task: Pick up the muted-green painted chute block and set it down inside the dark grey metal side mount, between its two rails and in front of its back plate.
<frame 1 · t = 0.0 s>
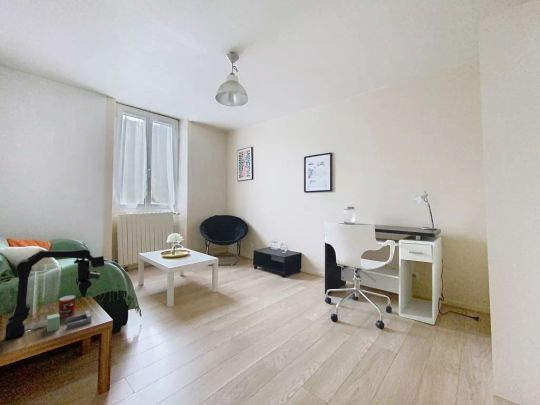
hand: (82, 294, 145), 15 cm above the table, fingers open, 9 cm apart
chute block: (53, 328, 133), on the table
canned food: (67, 315, 149), on the table
side mount: (76, 323, 140), on the table
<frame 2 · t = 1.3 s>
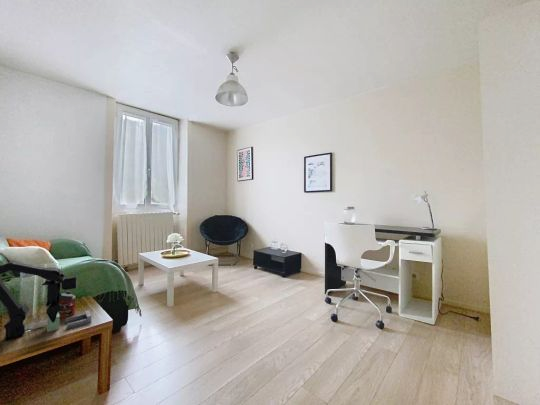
hand: (53, 319, 133), 5 cm above the table, fingers open, 9 cm apart
nothing on the table moved.
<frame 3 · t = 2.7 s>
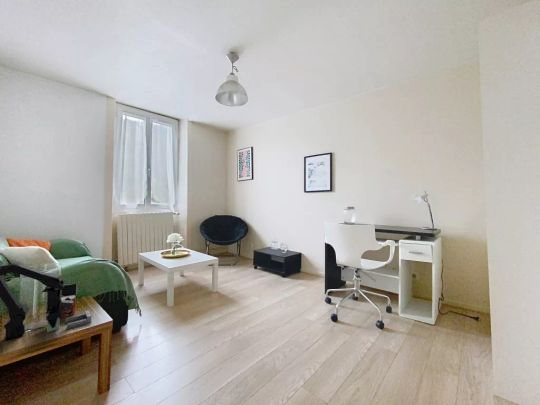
hand: (53, 325, 133), 2 cm above the table, fingers closed on chute block, 5 cm apart
chute block: (53, 328, 133), on the table, touching gripper
everything else where it was.
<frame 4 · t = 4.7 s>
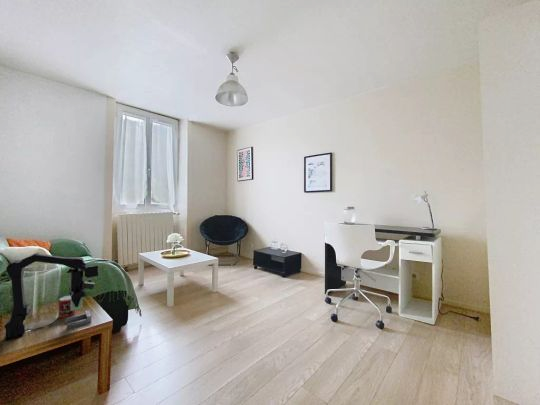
hand: (76, 305, 140), 10 cm above the table, fingers closed on chute block, 5 cm apart
chute block: (76, 308, 140), point 9 cm above the table, touching gripper
everything else where it was.
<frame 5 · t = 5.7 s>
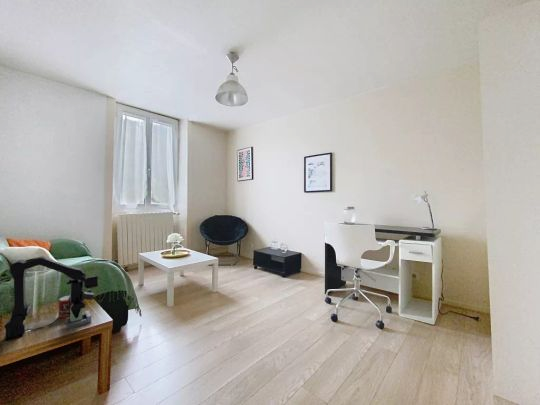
hand: (76, 316, 140), 4 cm above the table, fingers closed on chute block, 5 cm apart
chute block: (76, 318, 140), point 2 cm above the table, touching gripper
everything else where it was.
when the fingers open (3 cm above the table, at t = 6.6 s): chute block drops 2 cm, on the table.
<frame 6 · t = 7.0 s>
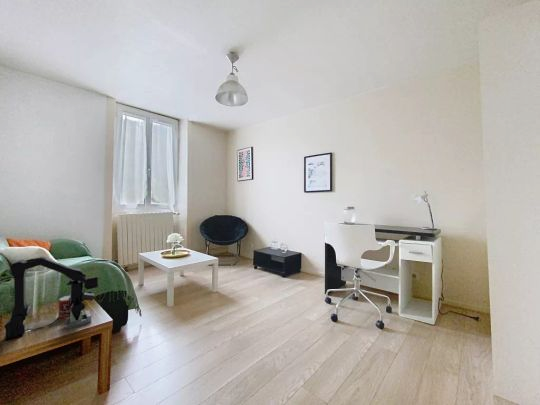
hand: (76, 317, 140), 3 cm above the table, fingers open, 9 cm apart
chute block: (76, 323, 140), on the table
everything else where it was.
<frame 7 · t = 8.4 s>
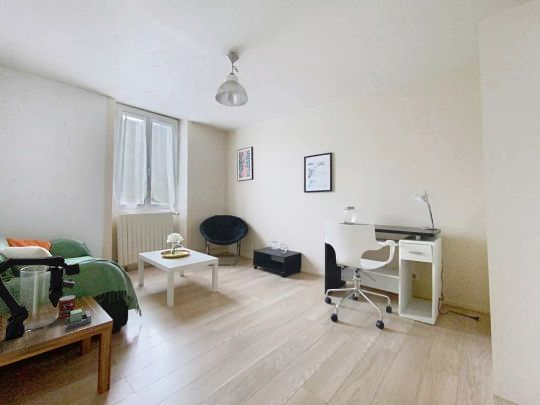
hand: (55, 304, 137), 12 cm above the table, fingers open, 9 cm apart
nothing on the table moved.
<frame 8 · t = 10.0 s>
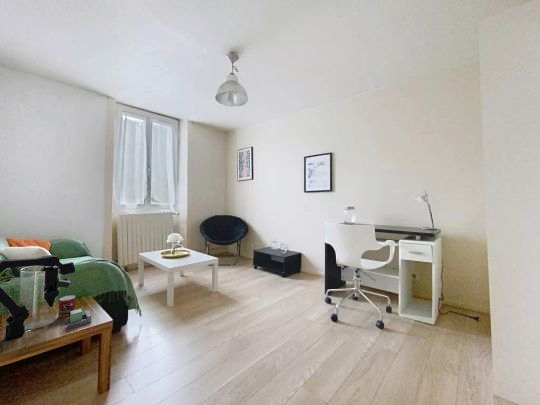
hand: (50, 304, 137), 12 cm above the table, fingers open, 9 cm apart
nothing on the table moved.
at the end: chute block inside the target area (0.2 cm from its centre), on the table; chute block tilted 0°; the gripper is holding nothing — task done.
